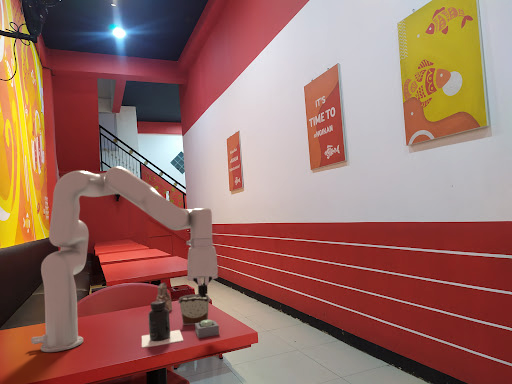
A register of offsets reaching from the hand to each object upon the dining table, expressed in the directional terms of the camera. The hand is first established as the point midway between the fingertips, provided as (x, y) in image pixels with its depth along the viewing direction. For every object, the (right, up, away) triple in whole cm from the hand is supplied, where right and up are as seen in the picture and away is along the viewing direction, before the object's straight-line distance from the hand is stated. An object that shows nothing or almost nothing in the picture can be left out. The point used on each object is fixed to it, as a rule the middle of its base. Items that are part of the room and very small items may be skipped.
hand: (202, 296), depth 125 cm
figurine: (-23, -17, +35) cm, 45 cm away
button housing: (+2, -13, -1) cm, 13 cm away
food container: (-4, -14, +14) cm, 20 cm away
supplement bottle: (-14, -13, -4) cm, 20 cm away
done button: (+1, -12, -1) cm, 12 cm away
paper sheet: (-13, -13, -4) cm, 19 cm away
